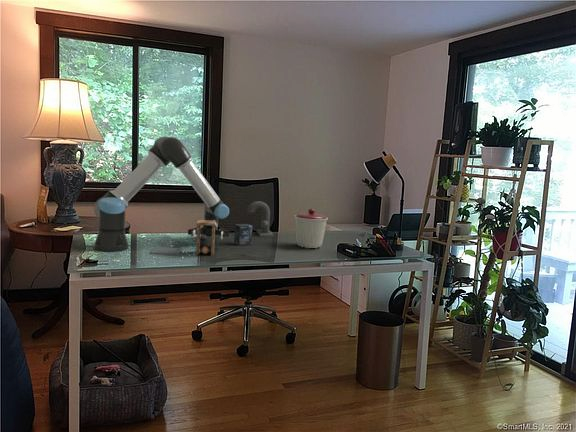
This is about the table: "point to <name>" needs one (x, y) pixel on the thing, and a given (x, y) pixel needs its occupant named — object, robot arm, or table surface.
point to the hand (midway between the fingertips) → (207, 235)
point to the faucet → (265, 219)
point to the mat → (166, 251)
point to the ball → (205, 250)
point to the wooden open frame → (199, 222)
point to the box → (243, 234)
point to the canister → (310, 229)
